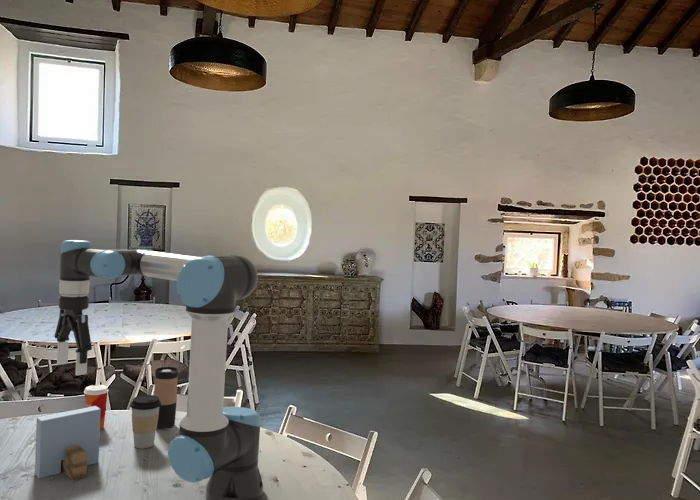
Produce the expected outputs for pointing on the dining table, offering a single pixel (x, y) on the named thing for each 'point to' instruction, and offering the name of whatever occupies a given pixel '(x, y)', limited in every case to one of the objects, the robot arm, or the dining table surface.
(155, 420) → the coffee cup
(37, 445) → the light blue slab
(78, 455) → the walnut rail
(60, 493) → the dining table surface
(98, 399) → the paper cup
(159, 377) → the travel mug
